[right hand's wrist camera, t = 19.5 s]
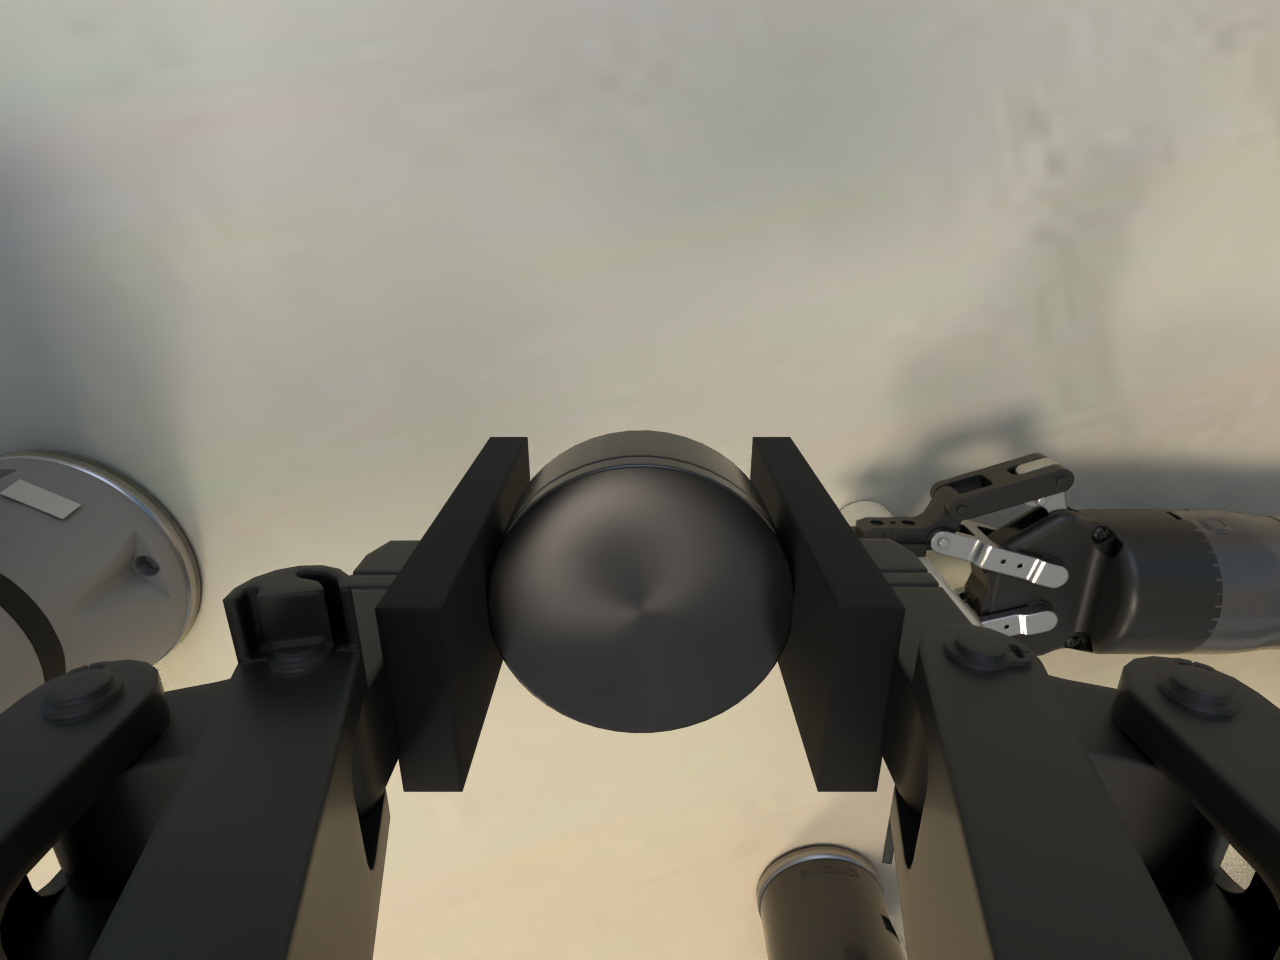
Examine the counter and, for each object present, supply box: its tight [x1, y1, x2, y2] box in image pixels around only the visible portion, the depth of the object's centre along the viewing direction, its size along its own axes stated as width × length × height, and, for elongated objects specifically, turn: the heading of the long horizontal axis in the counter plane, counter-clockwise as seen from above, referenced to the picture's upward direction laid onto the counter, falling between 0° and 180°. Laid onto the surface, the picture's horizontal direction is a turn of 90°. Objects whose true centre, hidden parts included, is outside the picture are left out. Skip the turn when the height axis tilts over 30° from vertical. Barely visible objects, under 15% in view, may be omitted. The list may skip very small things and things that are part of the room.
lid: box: [487, 430, 794, 733], centre depth 11 cm, size 5×5×2 cm
